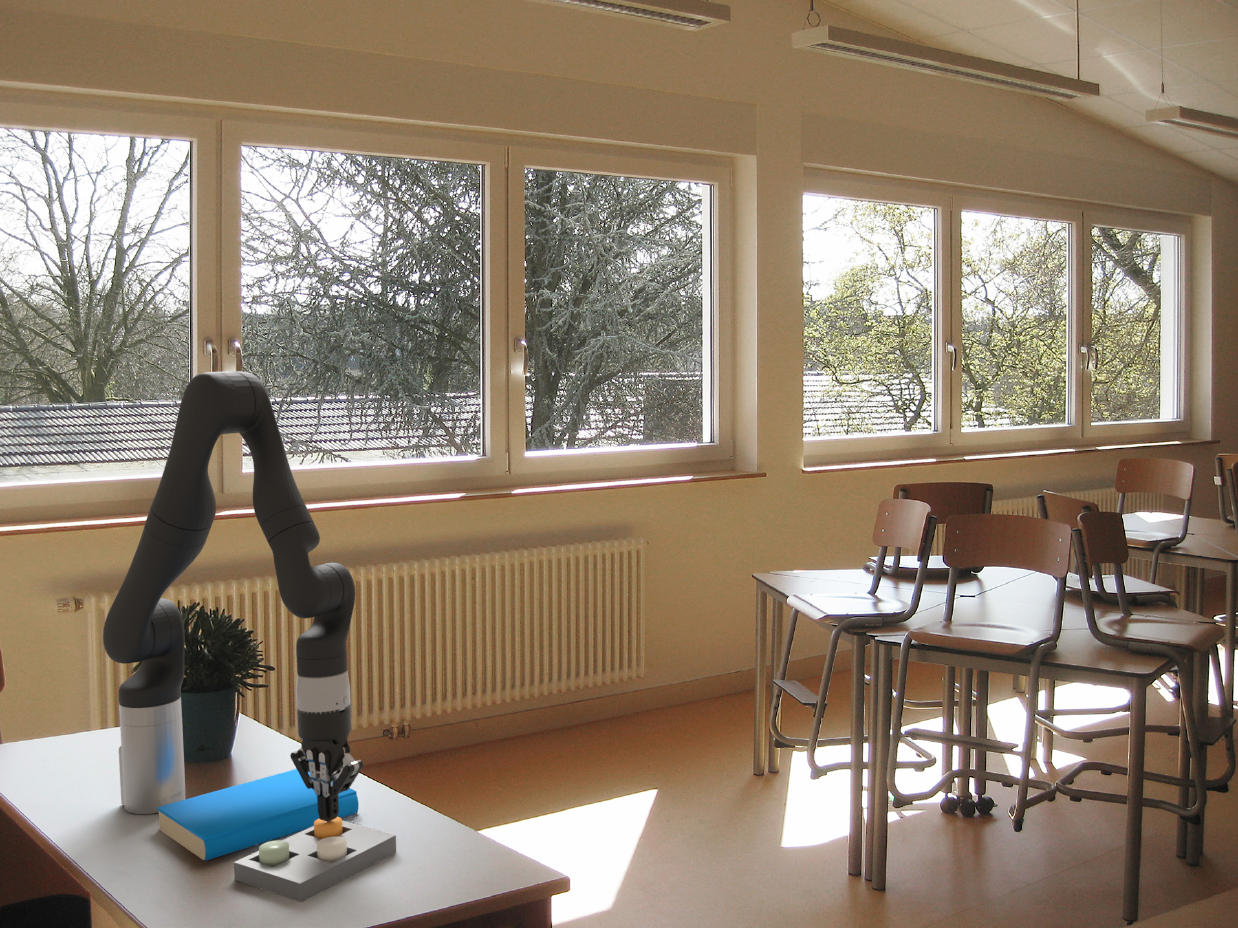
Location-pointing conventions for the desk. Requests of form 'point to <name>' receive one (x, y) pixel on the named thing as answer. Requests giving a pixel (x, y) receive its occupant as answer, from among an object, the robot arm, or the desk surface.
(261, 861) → the button sage
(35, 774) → the desk surface
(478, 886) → the desk surface
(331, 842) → the button ivory
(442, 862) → the desk surface
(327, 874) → the panel
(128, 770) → the robot arm
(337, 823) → the button orange
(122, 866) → the desk surface
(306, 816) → the book
